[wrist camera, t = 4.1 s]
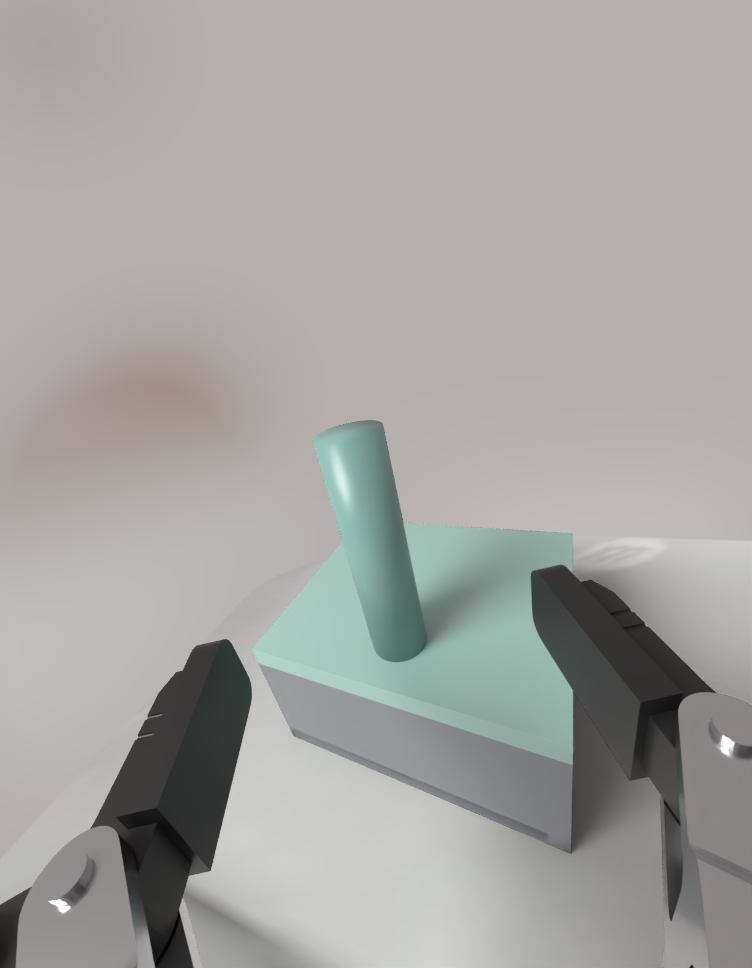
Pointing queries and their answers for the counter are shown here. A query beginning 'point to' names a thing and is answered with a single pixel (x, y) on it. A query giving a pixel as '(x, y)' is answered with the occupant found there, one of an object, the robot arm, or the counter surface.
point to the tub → (433, 757)
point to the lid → (425, 610)
